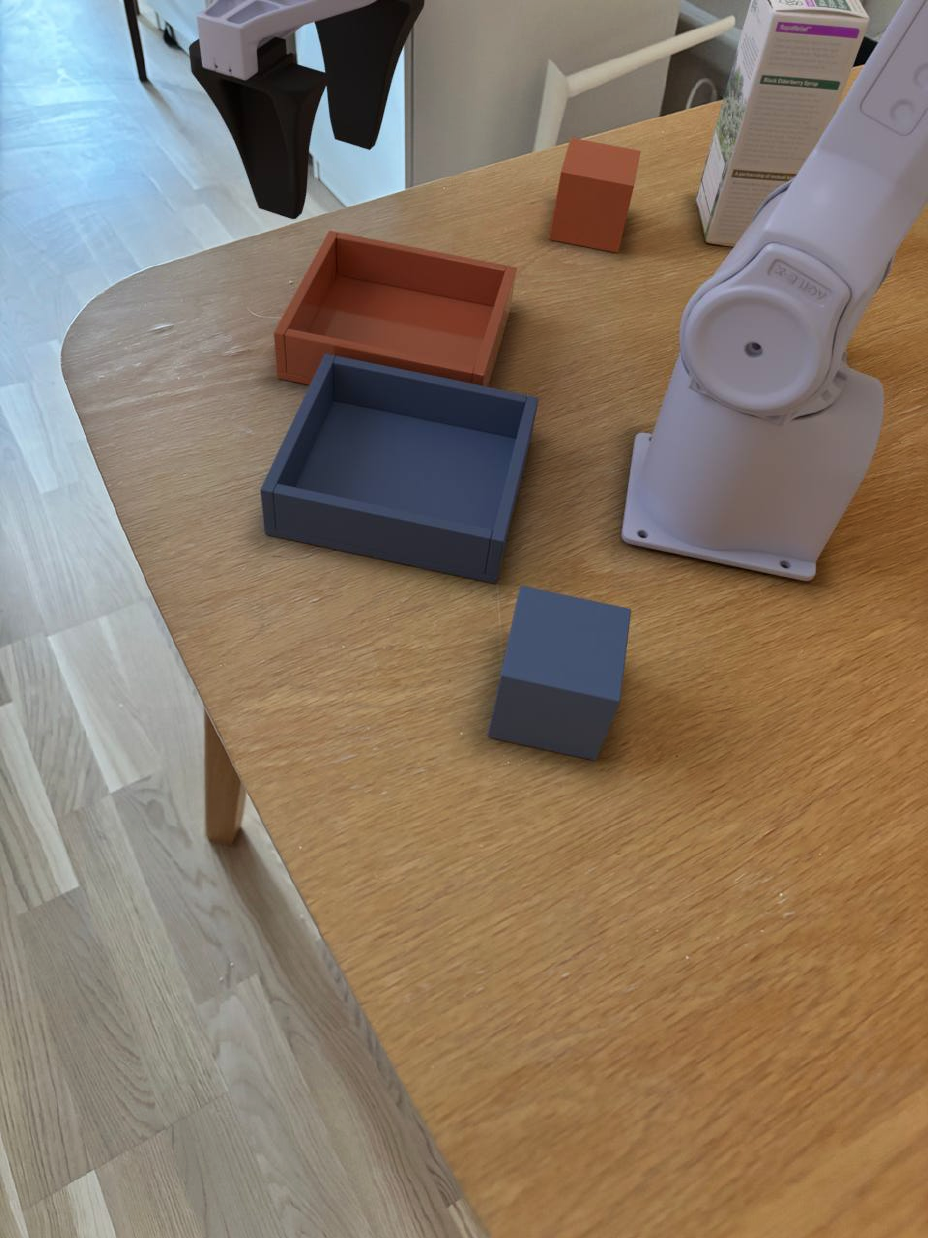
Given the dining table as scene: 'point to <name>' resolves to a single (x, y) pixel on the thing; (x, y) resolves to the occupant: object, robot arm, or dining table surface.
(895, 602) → the dining table surface
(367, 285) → the terracotta bin
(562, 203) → the terracotta block
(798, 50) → the syrup box
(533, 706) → the blue block
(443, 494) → the blue bin
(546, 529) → the dining table surface
